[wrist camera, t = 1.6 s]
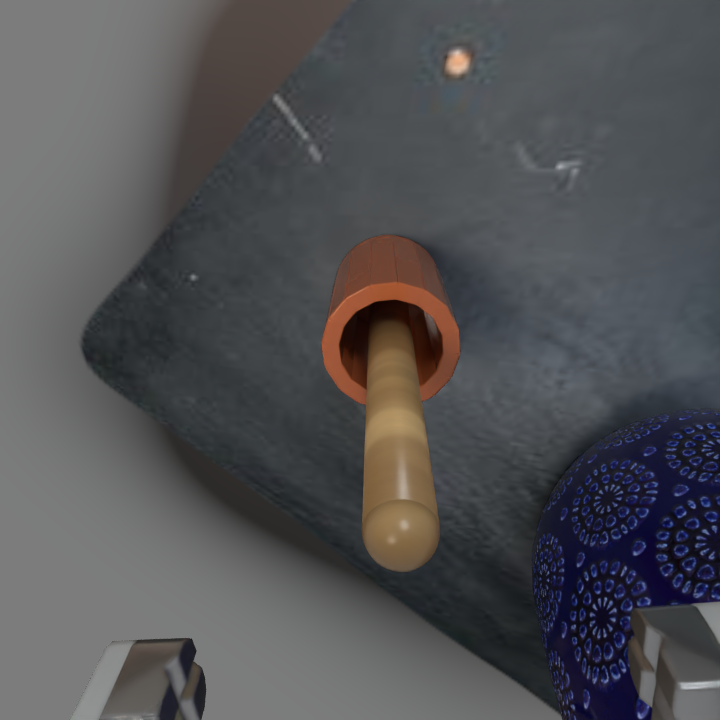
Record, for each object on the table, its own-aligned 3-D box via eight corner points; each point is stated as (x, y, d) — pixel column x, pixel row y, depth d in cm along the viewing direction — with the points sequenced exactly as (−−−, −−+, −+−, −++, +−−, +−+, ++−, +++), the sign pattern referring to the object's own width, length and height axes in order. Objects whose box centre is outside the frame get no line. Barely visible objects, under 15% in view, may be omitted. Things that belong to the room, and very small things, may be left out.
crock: (328, 241, 30) (312, 291, 22) (436, 228, 29) (456, 275, 22) (342, 340, 32) (332, 415, 25) (443, 330, 32) (463, 403, 24)
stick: (368, 275, 30) (356, 529, 13) (404, 271, 30) (441, 522, 13) (371, 309, 31) (366, 592, 13) (407, 305, 30) (446, 586, 13)
